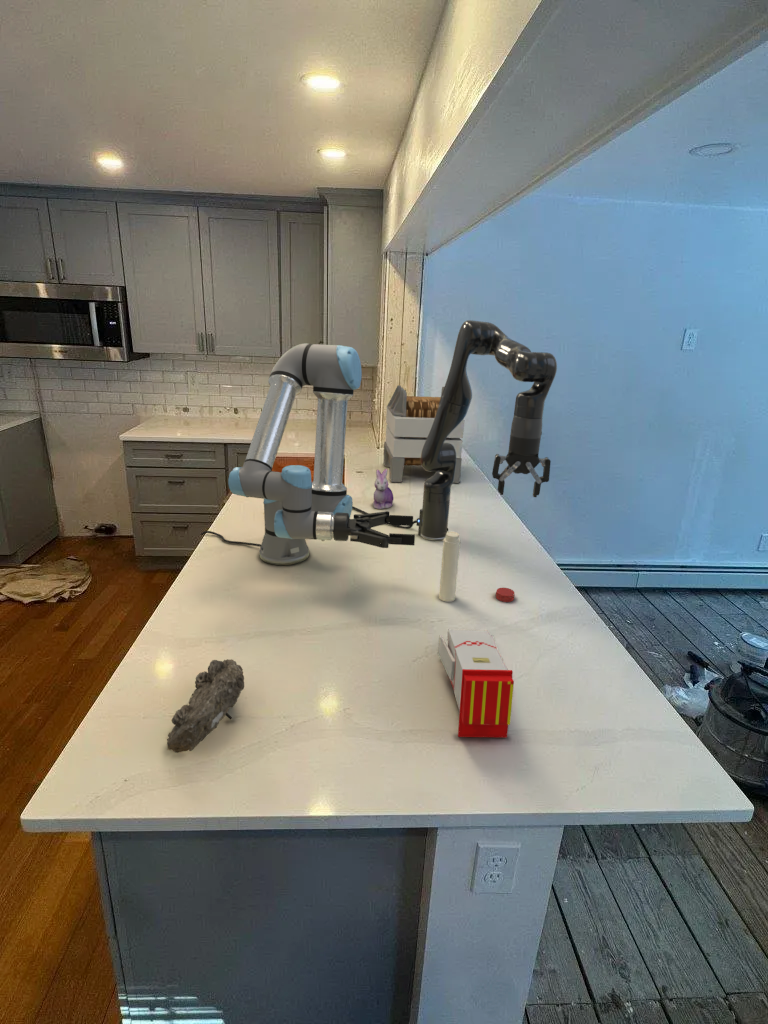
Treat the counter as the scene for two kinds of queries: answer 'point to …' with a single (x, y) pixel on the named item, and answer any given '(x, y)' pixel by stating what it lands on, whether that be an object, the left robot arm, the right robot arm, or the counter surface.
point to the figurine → (382, 491)
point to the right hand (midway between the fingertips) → (517, 495)
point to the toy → (478, 682)
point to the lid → (505, 594)
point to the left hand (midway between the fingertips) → (413, 530)
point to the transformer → (413, 432)
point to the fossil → (206, 705)
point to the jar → (449, 567)
